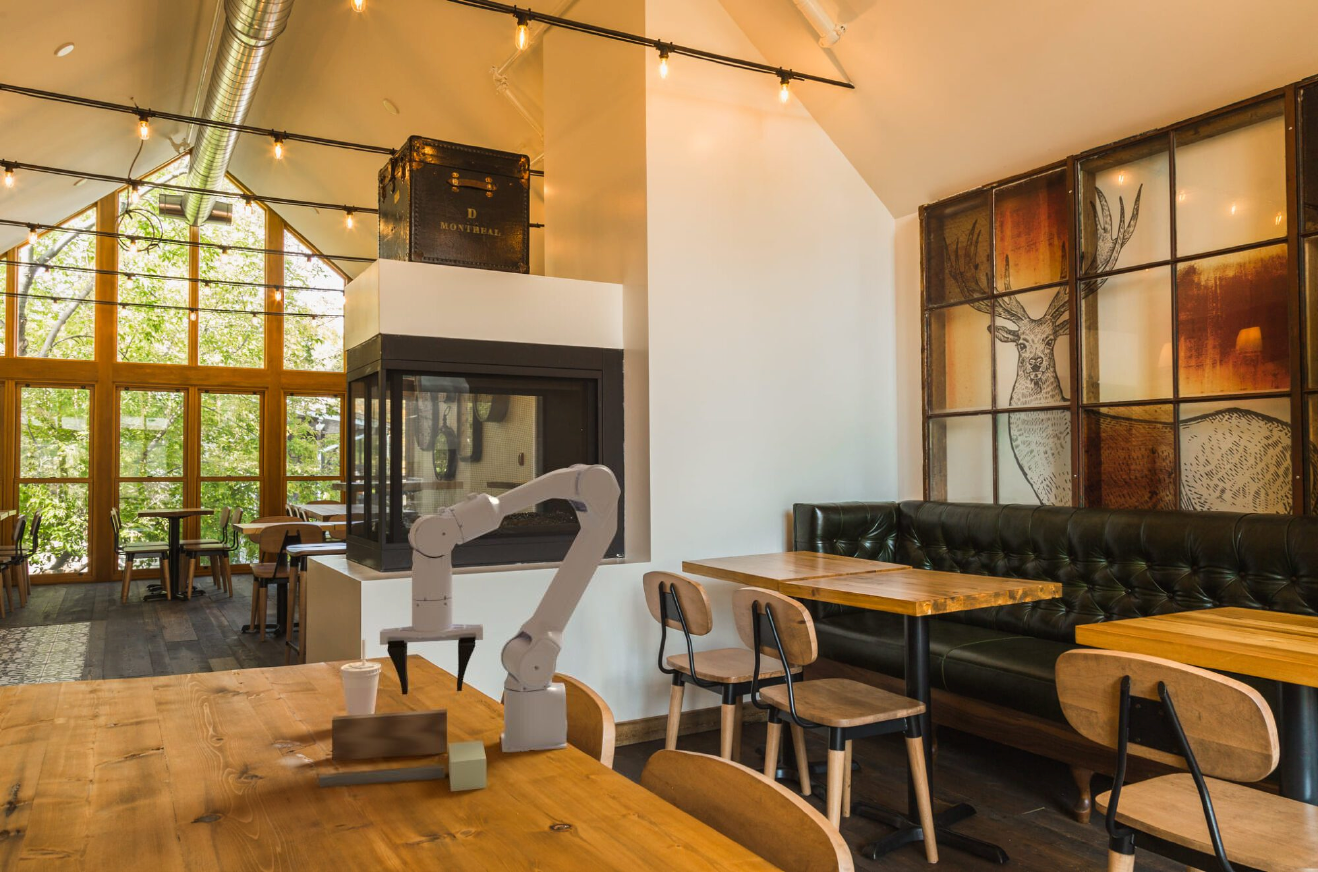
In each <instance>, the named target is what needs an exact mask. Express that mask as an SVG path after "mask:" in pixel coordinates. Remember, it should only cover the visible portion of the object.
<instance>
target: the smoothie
mask: <svg viewBox="0 0 1318 872" xmlns="http://www.w3.org/2000/svg"><path fill="white" fill-rule="evenodd" d="M366 644H367V642H366V638H362V639H361V661H357V662H350V663H347V664H346V663H345V664H344V665H342V666H340V669H339V671H340V672H339V675H340V676H341V677H342V678H341V679H342V687H343V694H344V701H345V708H346V709H345V710H346V716H349V715H364V714H375V710H376V709H375V708H376V701H377V692H378V685H379V675H380V673H381V672H382V664H381V663H380V662H377V661H367V660H366V659H367V658H366V657H367V656H366V655H367V652H366V647H367V646H366Z"/></svg>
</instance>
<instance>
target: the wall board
mask: <svg viewBox="0 0 1318 872" xmlns="http://www.w3.org/2000/svg"><path fill="white" fill-rule="evenodd" d="M447 753H448V709H447V708H445V709H444V708H443V709H442V708H441V709H429V710H428V709H427V710H413V711H412V710H411V711H410V710H409V711H399V712H398V711H397V712H383V713H374V714H364V715H349V716H347V715H337V716H333V717H332V719H331V761H342V760H344V761H345V760H357V759H358V760H360V759H369V758H370V759H372V758H387V757H388V758H389V757H403V756H405V757H406V756H419V755H431V754H432V755H434V754H436V755H437V754H447Z"/></svg>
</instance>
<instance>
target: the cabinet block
mask: <svg viewBox="0 0 1318 872" xmlns="http://www.w3.org/2000/svg"><path fill="white" fill-rule="evenodd" d="M484 747H485V746H484V743H483V740H470V741H460V742H449V743H448V777H449V785H450V792H458V791H469V790H480V789H487V756H486V751H485V748H484Z"/></svg>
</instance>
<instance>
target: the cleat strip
mask: <svg viewBox="0 0 1318 872" xmlns="http://www.w3.org/2000/svg"><path fill="white" fill-rule="evenodd" d="M445 771H446V764H437V765H422V766H413V767H412V766H411V767H398V768H397V767H396V768H385V769H374V770H373V769H372V770H370V769H369V770H360V771H346V772H337V773H336V772H333V773H323V774H319V777H318V788H323V787H324V788H325V787H326V788H327V787H337V786H338V787H341V786H354V785H356V786H357V785H369V784H385V783H397V782H409V781H411V782H412V781H423V780H424V781H425V780H426V781H427V780H439V779H445V778H446V772H445Z"/></svg>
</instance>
